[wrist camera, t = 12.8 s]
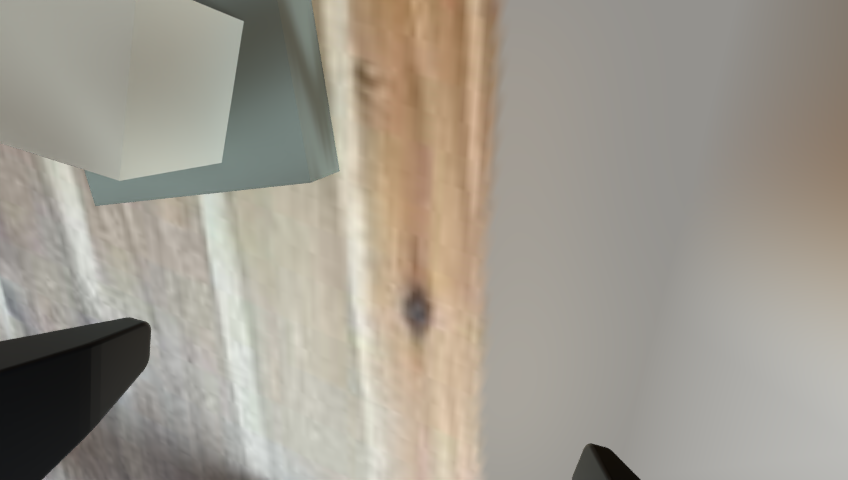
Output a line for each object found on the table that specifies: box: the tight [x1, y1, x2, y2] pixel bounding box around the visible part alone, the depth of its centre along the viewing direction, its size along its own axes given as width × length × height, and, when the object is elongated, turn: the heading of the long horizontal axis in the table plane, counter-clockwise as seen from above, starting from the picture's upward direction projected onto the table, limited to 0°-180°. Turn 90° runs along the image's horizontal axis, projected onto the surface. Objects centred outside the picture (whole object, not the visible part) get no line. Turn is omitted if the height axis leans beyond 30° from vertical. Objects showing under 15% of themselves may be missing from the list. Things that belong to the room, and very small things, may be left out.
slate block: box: [84, 0, 339, 206], centre depth 18 cm, size 9×9×4 cm
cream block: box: [0, 0, 244, 181], centre depth 14 cm, size 5×5×5 cm
